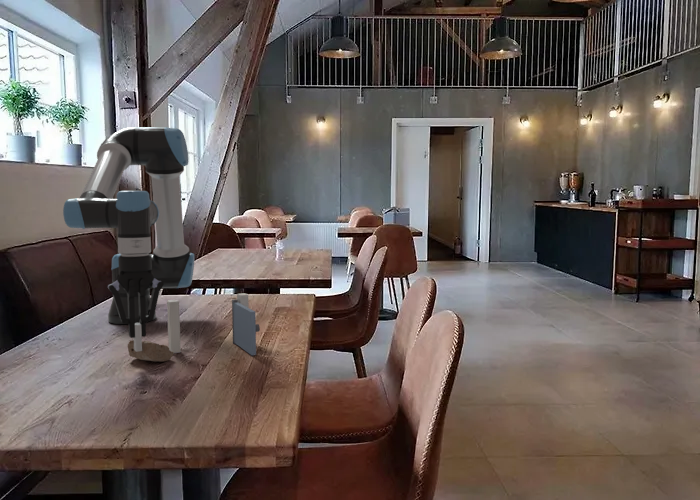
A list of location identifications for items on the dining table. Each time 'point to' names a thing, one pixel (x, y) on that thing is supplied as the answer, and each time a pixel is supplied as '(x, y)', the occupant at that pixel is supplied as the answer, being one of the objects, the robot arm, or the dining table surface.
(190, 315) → the dining table surface
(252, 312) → the door
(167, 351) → the stone
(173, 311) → the pair of grey bars
